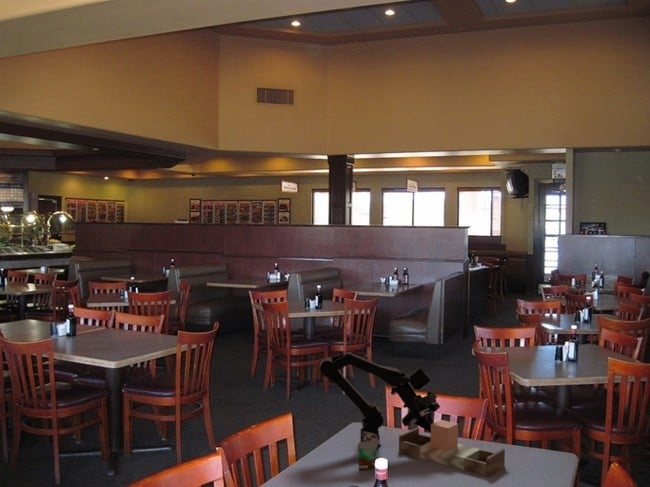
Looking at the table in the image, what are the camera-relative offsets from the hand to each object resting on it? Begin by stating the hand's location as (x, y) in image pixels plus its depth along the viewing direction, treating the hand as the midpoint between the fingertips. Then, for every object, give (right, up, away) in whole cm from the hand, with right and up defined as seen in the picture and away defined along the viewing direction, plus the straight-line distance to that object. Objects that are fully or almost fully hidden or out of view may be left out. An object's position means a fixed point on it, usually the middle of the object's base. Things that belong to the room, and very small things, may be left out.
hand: (435, 433), depth 232 cm
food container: (-24, -8, -12) cm, 28 cm away
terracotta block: (+3, -4, -3) cm, 5 cm away
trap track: (+4, -8, -4) cm, 10 cm away
